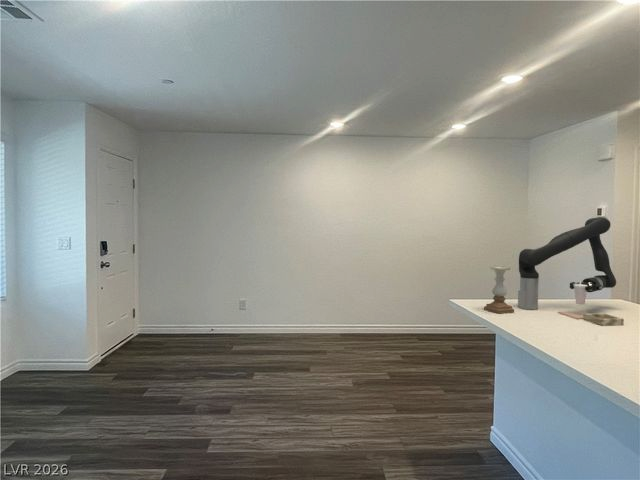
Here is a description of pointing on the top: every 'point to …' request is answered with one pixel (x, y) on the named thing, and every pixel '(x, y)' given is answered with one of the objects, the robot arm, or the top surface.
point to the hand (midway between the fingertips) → (578, 287)
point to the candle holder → (499, 293)
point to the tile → (574, 314)
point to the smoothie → (580, 293)
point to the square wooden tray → (603, 319)
